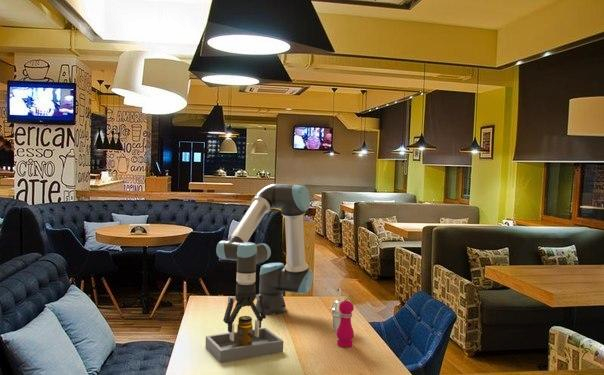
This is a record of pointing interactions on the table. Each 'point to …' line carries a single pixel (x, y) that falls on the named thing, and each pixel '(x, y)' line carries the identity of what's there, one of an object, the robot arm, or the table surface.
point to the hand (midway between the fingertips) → (244, 338)
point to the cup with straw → (336, 312)
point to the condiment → (244, 332)
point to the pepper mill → (345, 324)
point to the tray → (260, 346)
